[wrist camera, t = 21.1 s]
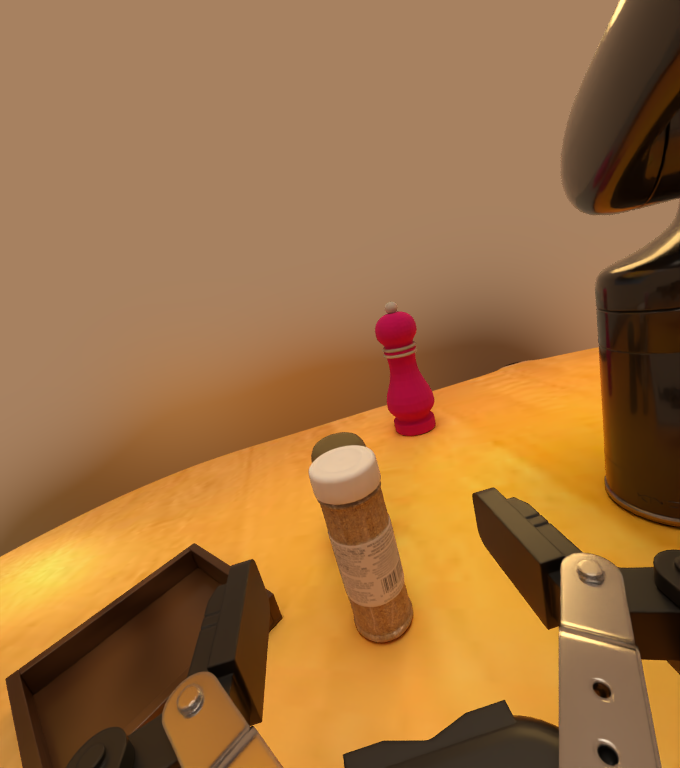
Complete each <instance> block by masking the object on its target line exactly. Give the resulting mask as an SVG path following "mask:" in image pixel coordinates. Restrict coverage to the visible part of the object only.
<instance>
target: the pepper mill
mask: <svg viewBox="0 0 680 768" xmlns="http://www.w3.org/2000/svg"><path fill="white" fill-rule="evenodd" d="M385 310H386V312H387V313H388V314H386V315H384V316H383V317H381V318H380V319H379V320H378V322H377V324H376V328H375V333H376V337H377V340H378V341H379V342H380V343H381V344H383V345H384V348H383V352H384V357H385V358H387V360H388V363H389V367H390V384H389V389H388V393H387V406H388V410H389V411H390V413H391V414H393V415H394V416H395V417H396V418H395V419H394V423H395V428H396V431H397V432H398V433H399V434H401V435H407V436H413V435H420V434H423V433H426V432H428V431H430V430H432V429H433V428H434V426H435V418H434V414H433V412H431V411H430V410H431V408H432V407H433V405H434V396H433V393H432V391H431V389H430V387H429V385H428V384H427V382H426V381H425V379H424V378H423V376H422V375H421V373H420V371H419V369H418V367H417V363H416V359H415V352H416V351H417V348H416V346H415V345H416V342H414V341H413V338H414V335H415V334H416V324H415V321H414V319H413V318H412V317H411V316H410V315H409V314H407V313H405V312H396V311H397V305H396V304H395V303H394V302H389V303H387V304H386V306H385Z"/></svg>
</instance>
